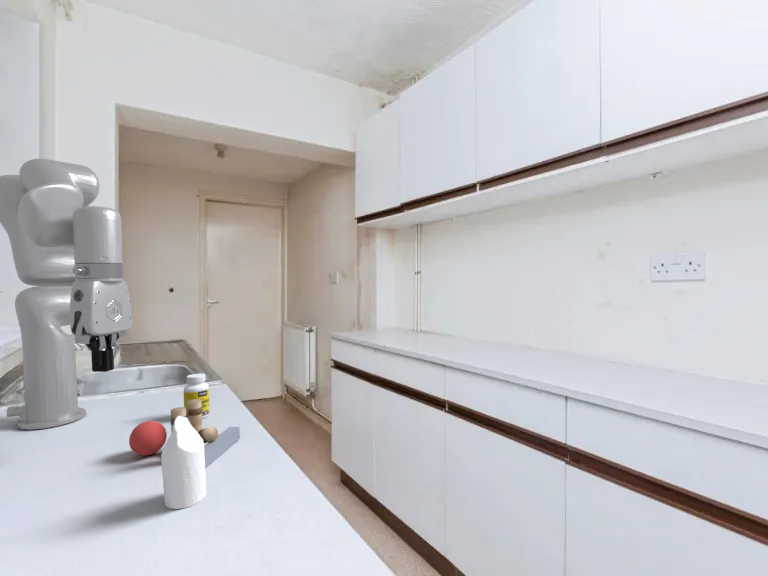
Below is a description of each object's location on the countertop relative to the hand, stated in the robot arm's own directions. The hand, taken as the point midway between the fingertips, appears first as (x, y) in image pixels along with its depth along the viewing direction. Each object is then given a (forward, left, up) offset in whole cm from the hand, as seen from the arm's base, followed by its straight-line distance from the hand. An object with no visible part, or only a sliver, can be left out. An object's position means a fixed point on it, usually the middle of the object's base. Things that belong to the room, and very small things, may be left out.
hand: (103, 370), depth 78 cm
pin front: (+13, -5, -14) cm, 20 cm away
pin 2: (+17, -4, -15) cm, 23 cm away
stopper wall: (+21, -8, -15) cm, 27 cm away
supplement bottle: (+13, +16, -15) cm, 25 cm away
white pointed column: (+19, -23, -16) cm, 34 cm away
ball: (+9, -5, -12) cm, 16 cm away
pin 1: (+15, -9, -15) cm, 23 cm away
